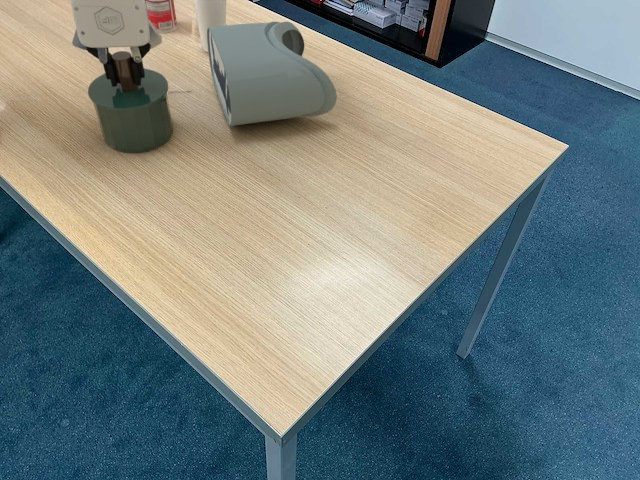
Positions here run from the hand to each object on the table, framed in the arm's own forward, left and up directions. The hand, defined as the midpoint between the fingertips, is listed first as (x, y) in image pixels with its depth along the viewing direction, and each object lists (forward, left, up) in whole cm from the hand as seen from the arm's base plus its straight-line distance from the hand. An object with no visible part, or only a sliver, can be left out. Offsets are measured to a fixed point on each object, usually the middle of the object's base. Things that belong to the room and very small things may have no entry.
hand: (127, 80), depth 88 cm
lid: (0, 0, -2) cm, 2 cm away
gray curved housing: (+24, +8, -10) cm, 27 cm away
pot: (0, 0, -10) cm, 10 cm away
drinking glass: (+14, +30, -10) cm, 35 cm away
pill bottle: (+3, +40, -10) cm, 41 cm away
